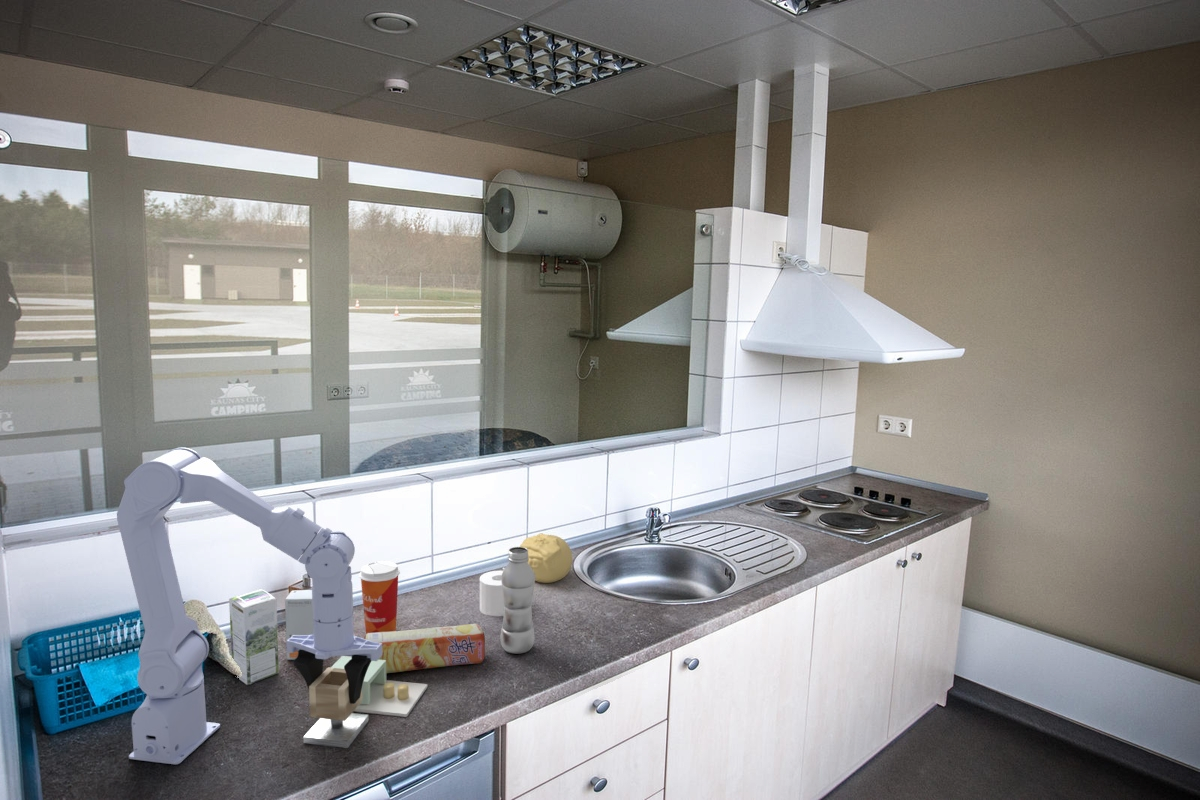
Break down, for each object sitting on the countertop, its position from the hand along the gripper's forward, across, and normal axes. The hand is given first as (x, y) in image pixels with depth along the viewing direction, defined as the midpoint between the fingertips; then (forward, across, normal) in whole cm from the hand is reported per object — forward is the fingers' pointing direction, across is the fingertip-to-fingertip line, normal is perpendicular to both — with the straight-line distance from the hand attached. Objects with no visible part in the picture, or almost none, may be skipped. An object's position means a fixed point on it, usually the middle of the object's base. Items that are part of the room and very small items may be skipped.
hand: (336, 698), depth 110 cm
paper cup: (+6, -7, +31) cm, 32 cm away
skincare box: (+6, -17, +21) cm, 28 cm away
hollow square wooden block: (+2, 0, 0) cm, 2 cm away
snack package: (+6, +6, +21) cm, 23 cm away
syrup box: (+6, -22, +13) cm, 26 cm away
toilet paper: (+6, +13, +49) cm, 51 cm away
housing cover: (+5, -2, +10) cm, 11 cm away
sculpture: (+6, +19, +66) cm, 68 cm away
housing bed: (+6, +2, +10) cm, 12 cm away
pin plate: (+6, 0, 0) cm, 6 cm away
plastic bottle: (+6, +21, +30) cm, 37 cm away
